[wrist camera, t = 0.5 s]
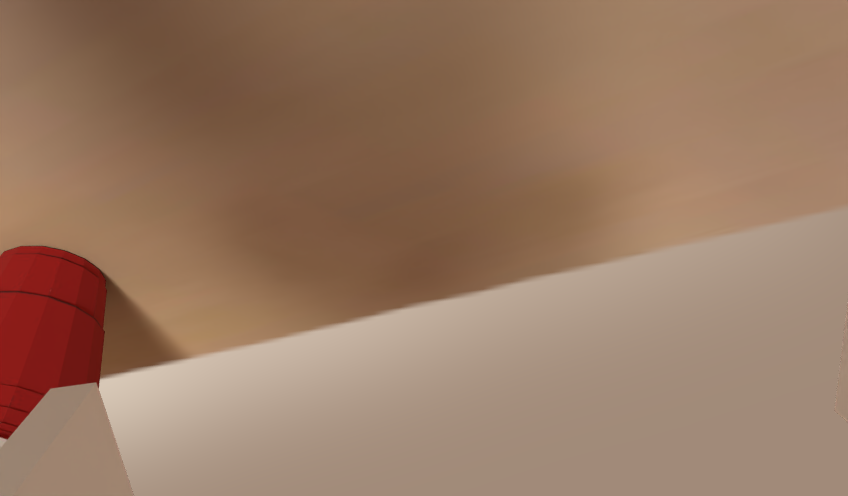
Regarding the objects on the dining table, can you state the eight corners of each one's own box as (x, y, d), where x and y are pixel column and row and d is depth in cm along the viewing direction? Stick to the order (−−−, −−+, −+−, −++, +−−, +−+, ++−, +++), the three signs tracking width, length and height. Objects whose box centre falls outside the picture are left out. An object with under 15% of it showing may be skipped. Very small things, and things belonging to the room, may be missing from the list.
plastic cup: (-96, 201, 32) (-233, 440, 25) (139, 226, 34) (76, 451, 27) (-29, 315, 41) (-117, 518, 33) (156, 329, 43) (112, 522, 36)
